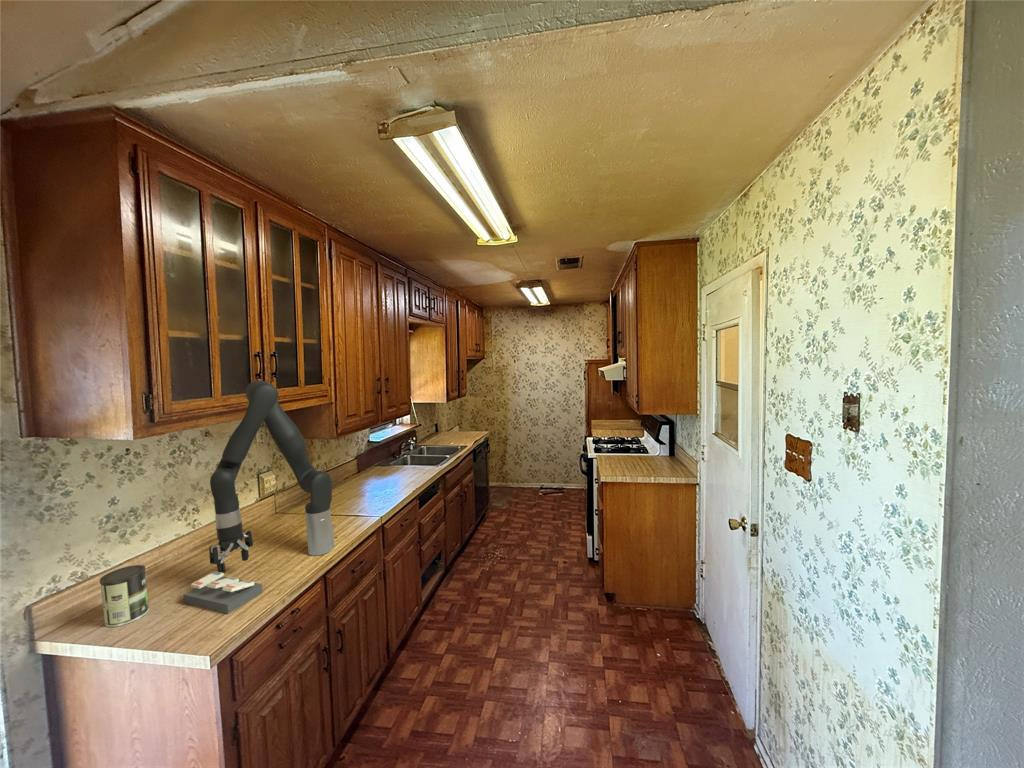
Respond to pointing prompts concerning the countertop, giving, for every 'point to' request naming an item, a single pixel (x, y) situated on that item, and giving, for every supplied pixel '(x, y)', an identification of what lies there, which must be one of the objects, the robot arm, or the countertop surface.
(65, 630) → the countertop surface
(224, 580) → the rocker
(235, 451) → the robot arm
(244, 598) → the rocker switch panel
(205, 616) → the countertop surface
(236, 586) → the rocker
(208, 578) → the rocker
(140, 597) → the coffee can
